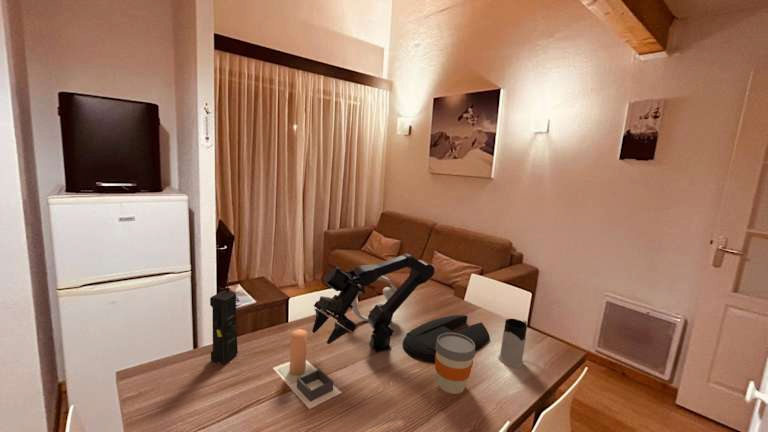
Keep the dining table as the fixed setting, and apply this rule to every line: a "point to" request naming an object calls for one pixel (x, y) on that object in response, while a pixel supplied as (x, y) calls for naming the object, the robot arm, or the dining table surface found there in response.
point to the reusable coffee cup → (453, 361)
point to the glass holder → (513, 343)
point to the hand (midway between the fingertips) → (320, 337)
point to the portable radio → (224, 326)
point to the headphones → (387, 293)
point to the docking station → (425, 335)
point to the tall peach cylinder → (298, 352)
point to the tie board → (308, 384)
